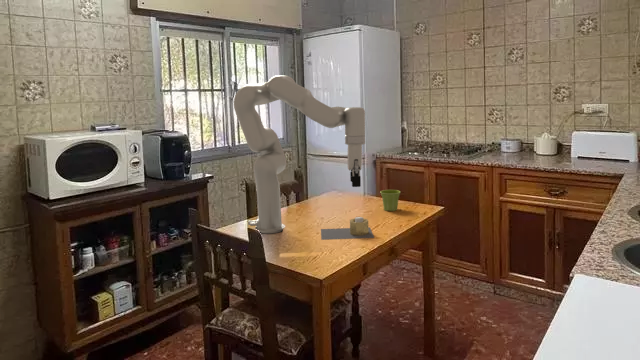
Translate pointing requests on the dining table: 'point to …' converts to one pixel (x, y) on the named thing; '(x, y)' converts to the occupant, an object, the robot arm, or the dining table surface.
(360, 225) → the brass ring
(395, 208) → the plant pot
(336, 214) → the dining table surface
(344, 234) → the piston stand
